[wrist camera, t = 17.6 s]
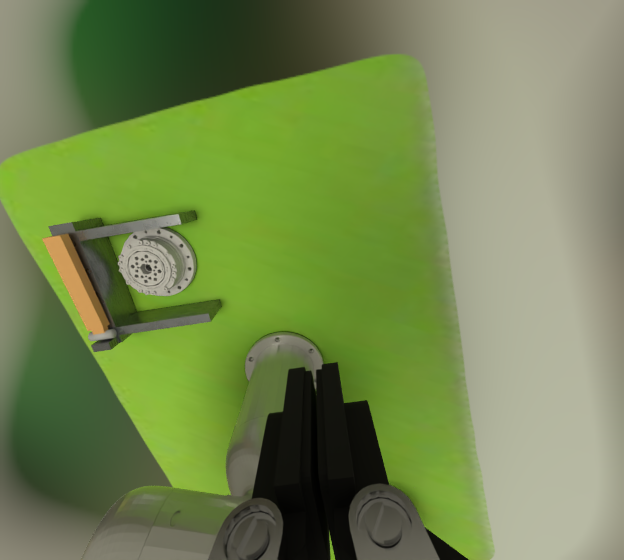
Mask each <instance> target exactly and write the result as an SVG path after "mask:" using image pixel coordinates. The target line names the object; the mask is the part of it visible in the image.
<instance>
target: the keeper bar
mask: <svg viewBox="0 0 624 560" xmlns="http://www.w3.org/2000/svg"><path fill="white" fill-rule="evenodd" d="M42 240H43V242H44V244H45V246H46V248H47V250H48V252H49V254H50V256H51V258H52V260H53V262H54V264H55V266H56V268H57V270H58V272H59V274H60V276H61V278H62V280H63V282H64V284H65V286H66V288H67V290H68V292H69V294H70V296H71V298H72V300H73V302H74V304H75V306H76V308H77V310H78V312H79V314H80V316H81V318H82V320H83V322H84V324H85V326H86V328H87V330H88V331H90V330H91V331H92V332H91V333H89V335H88V338H89V340H90V341H97V340H103V339H110V338H115V337H116V335H117V332H116V330H115V329H110V330H109V329H108V327H107V326H108V325H109V324H110V323H109V321H108V319H107V317H106V315H105V312H104V310H103V308H102V306H101V304H100V302H99V299H98V297H97V295H96V293H95V291H94V289H93V286H92V284H91V282H90V280H89V278H88V276H87V273H86V271H85V269H84V267H83V265H82V263H81V260H80V258H79V256H78V254H77V252H76V250H75V247H74V245H73V243H72V241H71V239H70V237H69V234H63V235H57V236H51V237H47V238H43V239H42Z"/></svg>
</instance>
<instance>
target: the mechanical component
mask: <svg viewBox="0 0 624 560" xmlns="http://www.w3.org/2000/svg"><path fill="white" fill-rule="evenodd" d="M118 265H119V266H120V269H119V272H121V273H122V275H123V277H124V279H125V280H126V284H128V285H129V284H130V285H131V286H132V287H133V288H134V289H136V290H138V292H139V293H141V292H142V293H145V294H146V295H148V294H152V295H157V296H170V295H174V294H177V293H179V292H180V291H182V290H183V289H185V288H186V287H187V286H188V285H189V284H190V283H191V281H192V280H193V279H194V276H195V272H196V257H195V254H194V252H193V249H192V247H191V246H190V244H189V243H188V242H187V241H186V240H185V238H184V237H182V236H181V235H180V234H179V233H177V232H175V231H173V230H171V229H169V228H164V227H161V228H155V229H149V230H143V231H137V232H134V233H133V234H131V235H130V236H129V238H128V239H127V240H126V241H125V243H124V246H123V249H122V252H121V255H119V262H118Z"/></svg>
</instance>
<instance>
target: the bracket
mask: <svg viewBox="0 0 624 560" xmlns="http://www.w3.org/2000/svg"><path fill="white" fill-rule="evenodd" d="M193 220H197V217H196V214H195V211H189V212H183V213H177V214H171V215H165V216H159V217H153V218H147V219H141V220H135V221H129V222H123V223H117V224H112V225H106V226H104V225H103V223H102V220H101V218H96V219H90V220H84V221H77V222H71V223H65V224H59V225H53V226H48V227H49V229H50V231H51V234H52V236H57V235H63V234H69V237H70V239H71V241H72V243H73V245H74V247H75V250H76V252H77V254H78V256H79V258H80V260H81V263H82V265H83V267H84V269H85V271H86V273H87V276H88V278H89V280H90V282H91V284H92V286H93V289H94V291H95V293H96V295H97V297H98V299H99V302H100V304H101V306H102V308H103V310H104V312H105V315H106V317H107V319H108V321H109V323H110V324H109V325H108V326H107V327H108V329H109V330H110V329H115V330H116V332H117V335H116V337H115V338H110V339H103V340H98V341H97V342H95V343H94V344H92V345H91V346H92V348H93V351H94V352H97V351H104V350H111V349H112V348H114V347H115V346H116V345H117V344H119V343H120V342H123V341H124V340H125V339H126V338H127V337H129V336H130V335H131V334H132V333H137V332H143V331H150V330H157V329H164V328H170V327H177V326H184V325H191V324H197V323H204V322H211V321H212V319H213V318H214V316H215V315H216V314H217V312H218V311H219V310H220V308H221V307H222V306H221V302H220V299H219V300H212V301H206V302H199V303H192V304H186V305H179V306H173V307H166V308H160V309H153V310H146V311H140V312H137V311H136V308H135V305H134V303H133V300H132V298H131V295H130V293H129V290H128V287H127V285H126V282H125V280H124V277H123V275H122V273H121V272H119V269H120V267H119V265H118V261H117V259H116V256H115V254H114V251H113V249H112V246H111V243H110V241H109V238H108V236H113V235H119V234H125V233H131V232H137V231H143V230H149V229H155V228H161V227H167V226H173V225H179V224H183V223H187V222H190V221H193Z"/></svg>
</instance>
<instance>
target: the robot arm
mask: <svg viewBox="0 0 624 560" xmlns="http://www.w3.org/2000/svg"><path fill="white" fill-rule="evenodd" d="M277 337H279V338H277ZM245 373H246V377H247V379H248V381H249V384H248V387H247V390H246V393H245V396H244V400H243V403H242V406H241V409H240V412H239V415H238V419H237V422H236V425H235V428H234V431H233V434H232V437H231V441H230V444H229V447H228V451H227V456H226V476H227V481H228V485H229V489H230V492H231V495H227V496H224V495H218V494H212V493H205V492H199V491H192V490H186V489H179V488H172V487H164V486H146V487H140V488H137V489H134V490H132V491H130V492H128V493H126V494H125V495H124V496H122V497H121V498H120V499H119V500H118V501H117V502H116V503H115V504H114V505H113V506H112V507H111V508H110V509H109V510H108V512H107V513H106V515H105V516H104V517H103V519H102V521H101V522H100V523H99V525H98V527H97V528H96V530H95V532H94V534H93V536H92V538H91V539H90V541H89V543H88V545H87V547H86V550H85V552H84V554H83V556H82V558H81V560H330V541H329V532H330V536H331V541H332V546H333V550H334V555H335V560H468V559H467V558H466V557H464V556H463V555H462V554H460V553H459V552H457V551H456V550H455V549H453V548H452V547H451V546H449V545H448V544H447V543H445V542H444V541H443V540H441V539H440V538H439V537H437V536H436V535H435V534H433V533H432V532H431V531H429V530H428V529H426V528H425V527H424V525H423V523H422V521H421V519H420V517H419V514H418V512H417V510H416V508H415V507H414V505H413V504H412V502H411V500H410V499H409V498H408V497H407V496H406V495H405V494H404V493H403V492H402V491H401V490H399V489H397V488H395V487H393V486H391V485H389V483H388V479H387V475H386V471H385V467H384V463H383V459H382V455H381V452H380V448H379V444H378V440H377V436H376V432H375V428H374V424H373V420H372V416H371V413H370V409H369V405H368V402H367V400H365V401H358V402H350V403H344V401H343V395H342V388H341V382H340V376H339V369H338V363H337V362H336V363H328V364H323V358H322V356H321V353H320V351H319V350H318V348H317V347H316V346H315V345H314V344H313V343H312V342H311V341H310V340H308V339H307V338H305V337H303V336H301V335H298V334H295V333H290V332H278V333H273V334H269V335H267V336H265V337H263V338H261V339H260V340H258V341H257V342H256V343H255V344H254V345H253V346H252V347H251V349H250V351H249V353H248V355H247V358H246V362H245ZM315 390H316V391H315Z"/></svg>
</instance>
